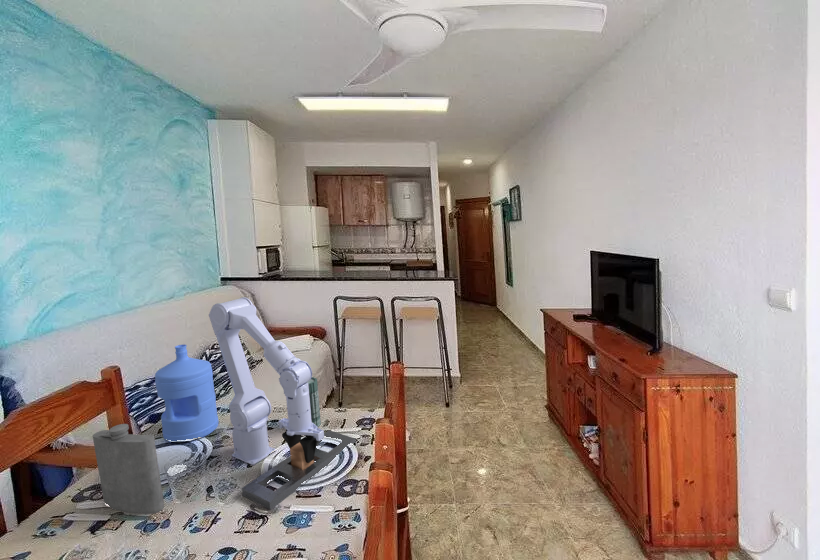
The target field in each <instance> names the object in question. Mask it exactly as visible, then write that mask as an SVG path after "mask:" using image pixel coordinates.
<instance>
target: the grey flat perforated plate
mask: <svg viewBox="0 0 820 560" xmlns="http://www.w3.org/2000/svg"><path fill="white" fill-rule="evenodd" d="M324 436H326V437H331V438H336V439H337V438H338V439H341V440H342V443H340V444H339V445H338V446H335V447H333V448H332V449H330V450H329V451H325V450H323V449H321V448H320V449H317V448H316V449H315V454H314V461H316V462H314V463H313V464H311V465H310V466H309V467H307V468H306V469H305V470H301V469H299V468H296V467H294V466H291V455H289V456H288V457H287V458H284V459H283V460H282V461H280V462H279V463H277V464H275V465H274V466H273V467H272V468H270V469H268V470H266V471H265V472H264V473H262V474H260V475H259V476H257V478H255V479H253V480H252V481H250V482H248V483H246V485H244V486H242V487H241V493H242V497H245V498H246V499H248V500H250V501H252V502H253V503H256V504H258V505H260V504H261V505H260V506H262V507H264V508H266V509H267V510H270V511H271V510H272V509H274V508H275V507H276V506H277V505H279V504H280V503H282V502H283V501H284V500H286V499H287V498H288V497H289V496H292V494H293V493H295V492H296V491H297V490H298V489H297V488H298V487H299V486H300V485H301V483H303V482H304V481H306V480H307V479H309V478H311V477H312V476H314V475H315V474H316V473H318V472H319V471H320V470H321V469H322V468H324V467H325V466H327V465H328V464H329V463H330V462H331V461H332V460H333V459H334V458H335V457H336V455H338V454H339V453H340V452H341V451H342V450H343V449H344V448H345V447H346V446H347V445H348V444H350V443H356V437H352V436H349V435H345V434H342V433H339V432H336V431H332V430H330V429H329V430H327V431H326V432H324ZM321 441H322V440H320V441H318V443H317V446H318V445H319V443H320V442H321ZM327 467H328V466H327ZM318 474H319V473H318ZM278 475H279V476H282V477H284V478H285V479H288V480H289V481H286V482H285V483H284V484H282V485H281V486H280V487H278V488H277V489H275V490H272V489H271V488H268V487H266V486H268V485H269V484H267V482H268V481H269V480H271V479H274V478H275V477H276V476H278ZM314 477H315V476H314ZM296 489H297V490H296Z"/></svg>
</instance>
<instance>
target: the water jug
mask: <svg viewBox="0 0 820 560" xmlns="http://www.w3.org/2000/svg"><path fill="white" fill-rule="evenodd" d="M174 349H175V356H176V357H175V358H176V359H175V360H173V361H171V362H170V363H168V364H166V365H165V366H163V367H161V368H159V369H158V370H157V371H156V372H155V373H154V378H155V379H154V384H155V388H156V394H157V397H158V398H160V399H161V400H163V401H164V406H165V410H164V411H163V413H162V414H161V416H160V418H161V419H160V420H161V427H162V437H163V439H164V440H165V439H167V440H171V441H177V440H186V439H193V438H198V437H202V438H205V437H206V436H208V435H210V434H211V433H213V432H214V431H215V430H216V429H217V427H218V426H219V423H220V421H219V416H218V410H217V402H216V401H217V398H216V396H217V395H216V392H215V386H214V385H215V384H214V377H213V376H214V374H213V367H212V363H211V362H210V361H208V360H205V359H198V358H194V357H189V356H188V350H187V344H177V345H175V346H174Z"/></svg>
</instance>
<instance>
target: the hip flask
mask: <svg viewBox="0 0 820 560" xmlns="http://www.w3.org/2000/svg"><path fill="white" fill-rule="evenodd" d="M129 429H130V427H129V424H128V423H122V424H121V423H120V424H117V425H116V424H115V425H114V426H111V427H110V428H109V429H103V430H99V431H97V432H95V433H94V434H92V440H93V441H92V442H93V446H94V447H93V448H94V452H95V458H96V464H97V469H98V475H99V482H100V486H101V493H102V497H103V499H102V500H103V503H104V502H105V503H106V504H108V505H109V506H110V507H111V508H113V509H112V510H114V509H116V510H115V511H118V510H119V511H120V512H123V511H124V513H129V514H140V515H141V514H145V515H146V514H147V515H149V514H152V515H153V514H156V513H159V512H161V511H162V510H163V509H164V508H165V502H164V501H165V500H164V495H163V488H162V482H161V475H160V467H159V461H158V455H157V453H158V452H157V448H156V441H155V435H154V434H132V433H129ZM111 508H110V509H111ZM119 511H118V512H119Z"/></svg>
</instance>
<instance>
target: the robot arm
mask: <svg viewBox="0 0 820 560" xmlns="http://www.w3.org/2000/svg"><path fill="white" fill-rule="evenodd" d="M208 317H209V320H210V324H211V327H212V330H213V333H214V335H215V337H216V340H217V343H218V346H219V349H220V352H221V355H222V359H223V362H224V365H225V368H226V371H227V375H228V377H229V380H230V383H231V386H232V389H233V392H234V396H233V398H232V400H231V401H230V403H229V405H228V409H229V413H230V414H229V415H230V423H231V425H232V427H233V429H232V433H231V434H232V435H231V436H232V442H233V443H232V445H233V451H234V452H233V453H232V454H231V457H233V458H235V459H238V460H239V461H243V462H244V463H246V464H249V465H251V466H254V465H256V464H258V463H259V462H260V461H263V460H264V459H266V458H267V457H268V455H269V454H270V453H271V452H272V451H274V450H275V449H276V448H274V447H272V446H270V444H269V442H270V441H269V435H268V427H267V426H268V424H267V421H269V416H270V415H271V413H272V403H271V402H270V400H269V399H268V397H267V396H266V393H265V391H264V390H263V389H259V388H257V387H256V386H255V383H254V379H253V376H252V373H251V370H250V367H249V364H248V361H247V357H246V355H245V351H244V348H243V345H242V342H241V339H240V336H239V334H240V332H241V330H244V331H245V332H246V333H247V334H248V335H249V336H250V337H251V338H252V339H253V340H254V341H255V342H256V343H257V344H258V345H259V346H260V347H261V348H262V349H263V357H264V358H265V360H266V361H267V362H268V363H269V364H270V366H271V367H272V368H273V369H274V370H275V372H276V373H277V374H278V375H279V378H278V382H279V384H280V386H281V388H282V389H283V394H284V396H285V398H286V400H285V401H286V409H287V410H286V411H287V418H286V417H284V418H281V419H280V420H278V427H279V429H285V430H284V431H285V432H282V433H281V438H283V439H284V441H285V442H286V444H287V446H288V448H289V449H290V448H292V447H293V446H295V445H296V444H298V443H299V442H300V444H301V445H302V447H303V450H304V455H305V460H306V463H310V462H311V461H312V460H314V454H315V449H316V446H317V443H318V441H320V440H321V439H323V438H324V433H325V431H324V430H323V429H321V428H320V427H319V428H318V427H317V426H316V425H315V424H314V423H312V421H311V409H310V397H309V386H308V383H307V382H308V381H309V380H311V378H312V377H313V369H312V367H311V366H310V364H309V363H308V361H305V360H302V359H300V358H299V357H296V356H295V355H294V354H293V353H292V351H291V350H290V349H289V348H288V347H287V344H285V343H284V342H283V341H281V340H275V339H274V337H273V336H272V334H271V333H270V332H269V330H268V329H267V327H266V326H265V325H264V323H263V321H261V320H260V318H259V317H258V314H257V307H256V306H255V305H254V304H253V302H252V301H251V299H249V298H248V297H245V296H244V297H240V298H236V299H233V300H228V301H224V302H221V303H215V304H213V305H212V307H211V309H210V311H209V314H208ZM302 436H304V437H302ZM270 455H271V454H270ZM270 455H269V456H270Z"/></svg>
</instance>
